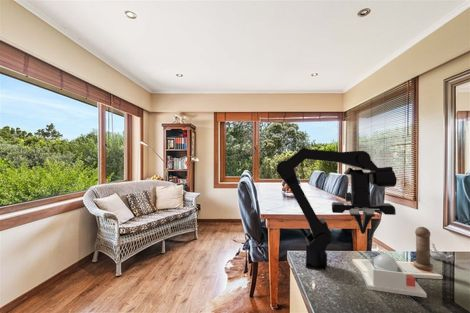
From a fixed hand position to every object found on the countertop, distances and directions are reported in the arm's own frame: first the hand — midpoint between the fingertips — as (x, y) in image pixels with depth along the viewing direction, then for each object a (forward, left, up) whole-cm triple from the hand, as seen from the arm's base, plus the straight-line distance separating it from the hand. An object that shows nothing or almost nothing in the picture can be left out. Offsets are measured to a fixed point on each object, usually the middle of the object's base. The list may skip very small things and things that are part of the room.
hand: (362, 233), depth 82 cm
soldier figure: (+28, +17, -12) cm, 35 cm away
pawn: (+19, +4, -10) cm, 22 cm away
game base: (+6, -10, -12) cm, 16 cm away
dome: (+4, -10, -9) cm, 14 cm away
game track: (+10, +2, -12) cm, 15 cm away
